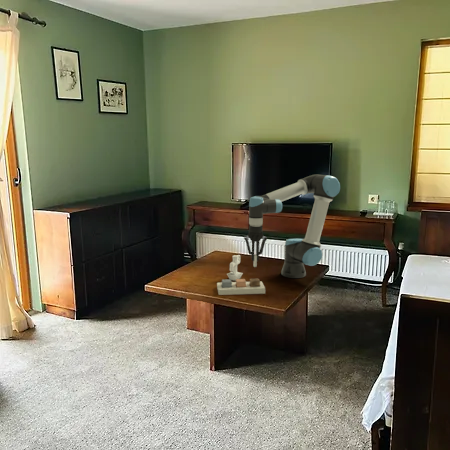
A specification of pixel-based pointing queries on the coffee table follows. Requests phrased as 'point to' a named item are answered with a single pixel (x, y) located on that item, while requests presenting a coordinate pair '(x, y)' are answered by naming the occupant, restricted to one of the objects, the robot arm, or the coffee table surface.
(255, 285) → the walnut key
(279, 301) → the coffee table surface
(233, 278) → the figurine
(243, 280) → the terracotta key
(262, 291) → the key block
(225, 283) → the slate key
